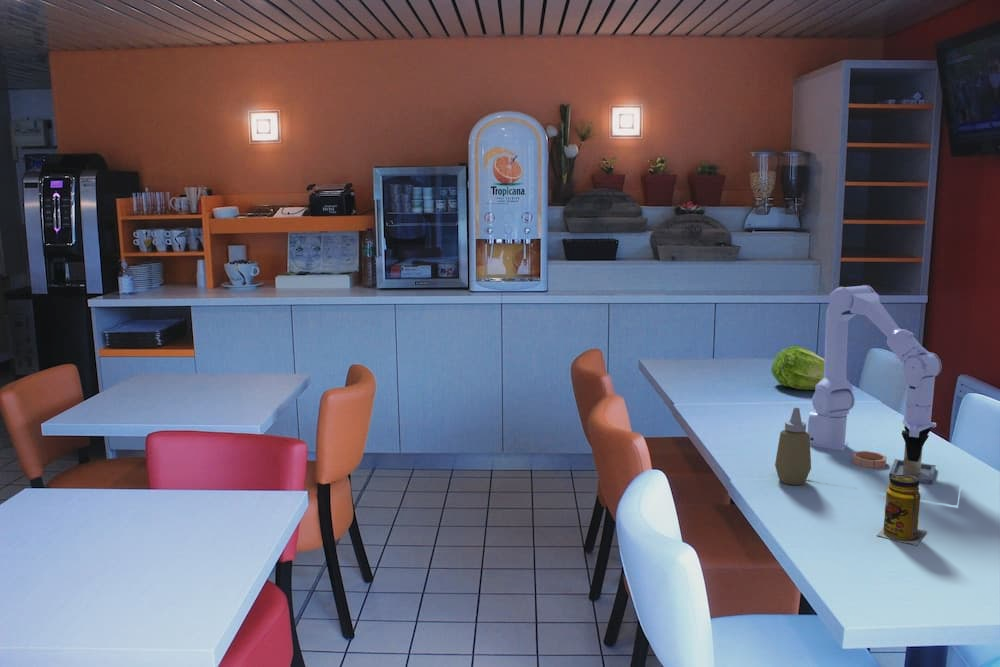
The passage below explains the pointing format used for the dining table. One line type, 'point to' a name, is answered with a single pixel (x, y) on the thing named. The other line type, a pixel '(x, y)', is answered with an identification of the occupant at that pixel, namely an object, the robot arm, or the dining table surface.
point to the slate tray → (924, 476)
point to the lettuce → (798, 368)
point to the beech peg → (911, 465)
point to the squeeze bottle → (793, 451)
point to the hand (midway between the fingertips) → (913, 458)
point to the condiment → (902, 510)
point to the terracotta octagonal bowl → (869, 459)
